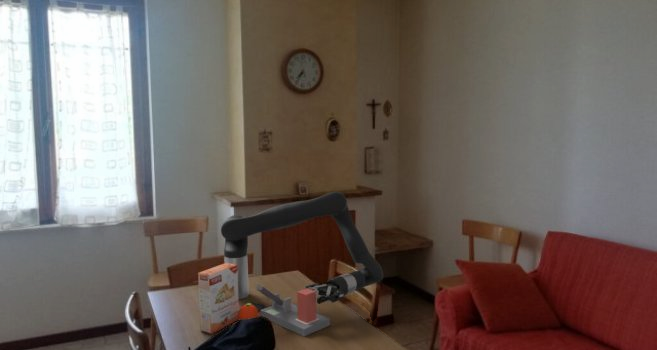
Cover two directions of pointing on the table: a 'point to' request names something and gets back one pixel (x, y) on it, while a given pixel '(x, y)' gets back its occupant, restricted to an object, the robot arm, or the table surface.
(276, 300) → the breaker lever
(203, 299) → the cracker box
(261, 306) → the phone
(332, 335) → the table surface
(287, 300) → the grey mounting base plate
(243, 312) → the clementine
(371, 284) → the robot arm
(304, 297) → the red tall block
